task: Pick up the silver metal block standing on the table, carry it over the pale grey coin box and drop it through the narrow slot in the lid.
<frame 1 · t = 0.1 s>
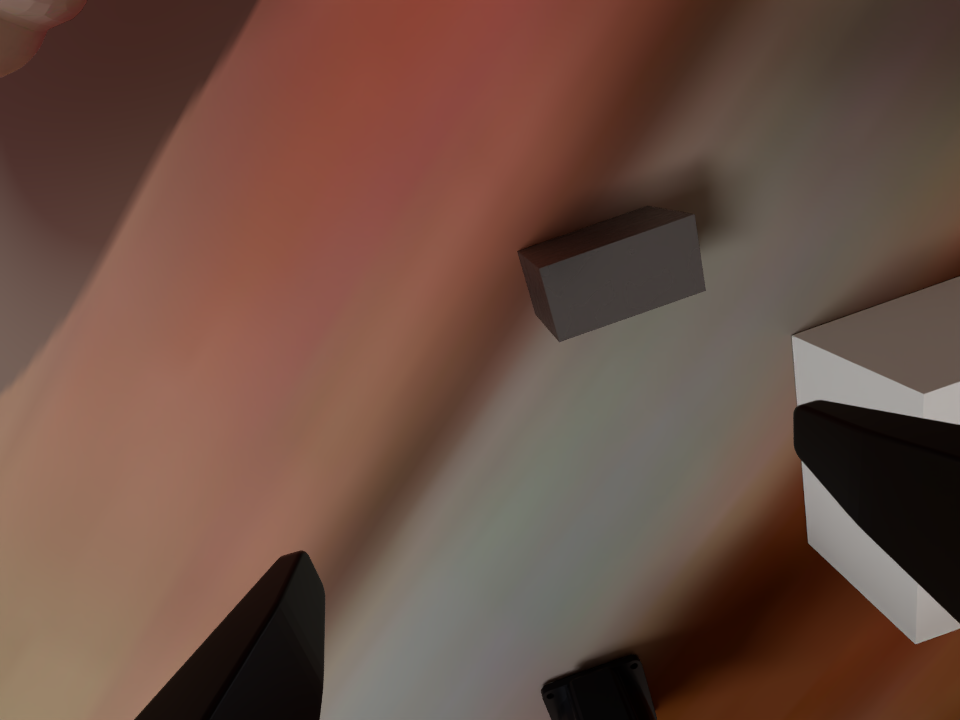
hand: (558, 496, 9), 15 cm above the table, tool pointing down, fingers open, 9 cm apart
silver metal block: (589, 260, 23), on the table
coin box: (919, 406, 28), on the table
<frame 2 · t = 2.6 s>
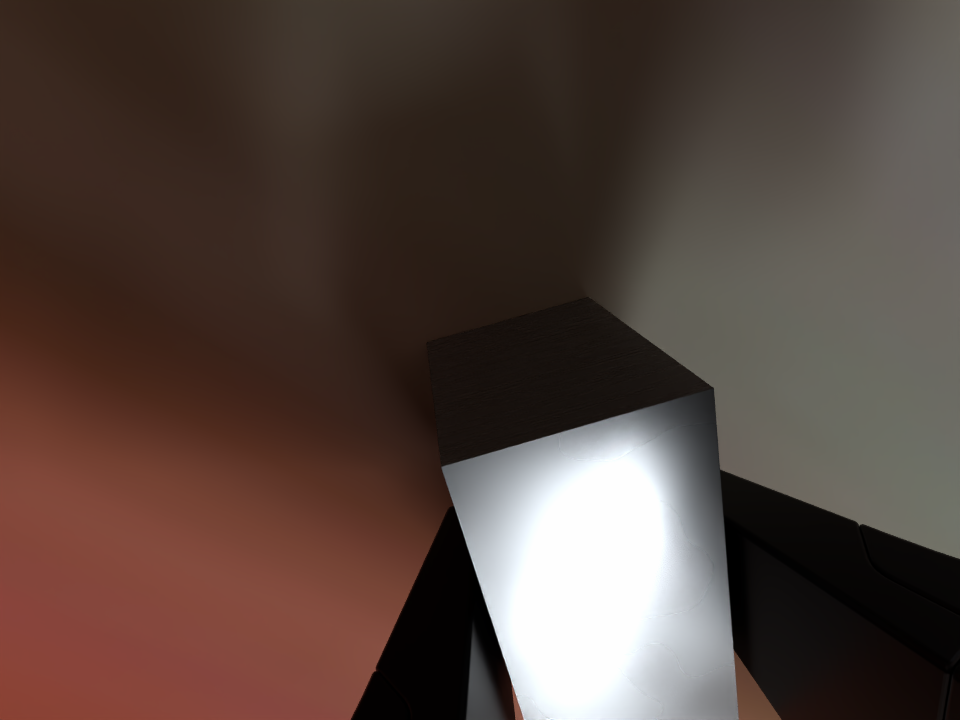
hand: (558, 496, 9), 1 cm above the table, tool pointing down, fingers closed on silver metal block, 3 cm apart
silver metal block: (540, 458, 10), on the table, touching gripper
when the fingers open (9 cm above the table, at t = 5.7 s): silver metal block drops 7 cm, resting on coin box.
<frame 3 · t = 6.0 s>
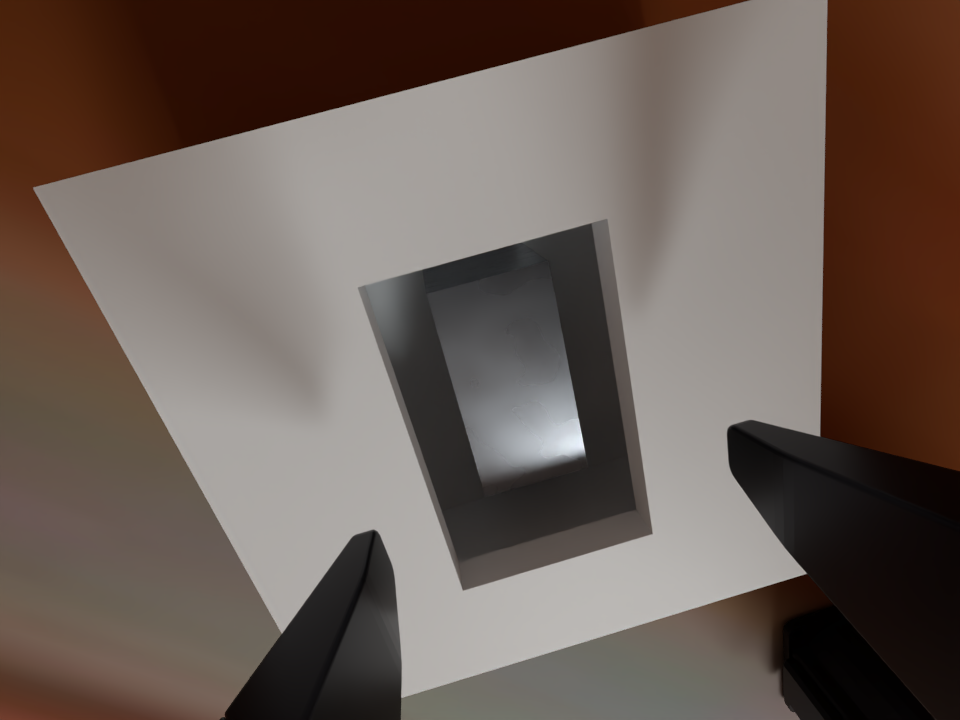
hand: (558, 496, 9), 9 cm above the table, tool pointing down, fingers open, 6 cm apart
silver metal block: (490, 339, 17), point 1 cm above the table, touching coin box
coin box: (482, 332, 18), on the table
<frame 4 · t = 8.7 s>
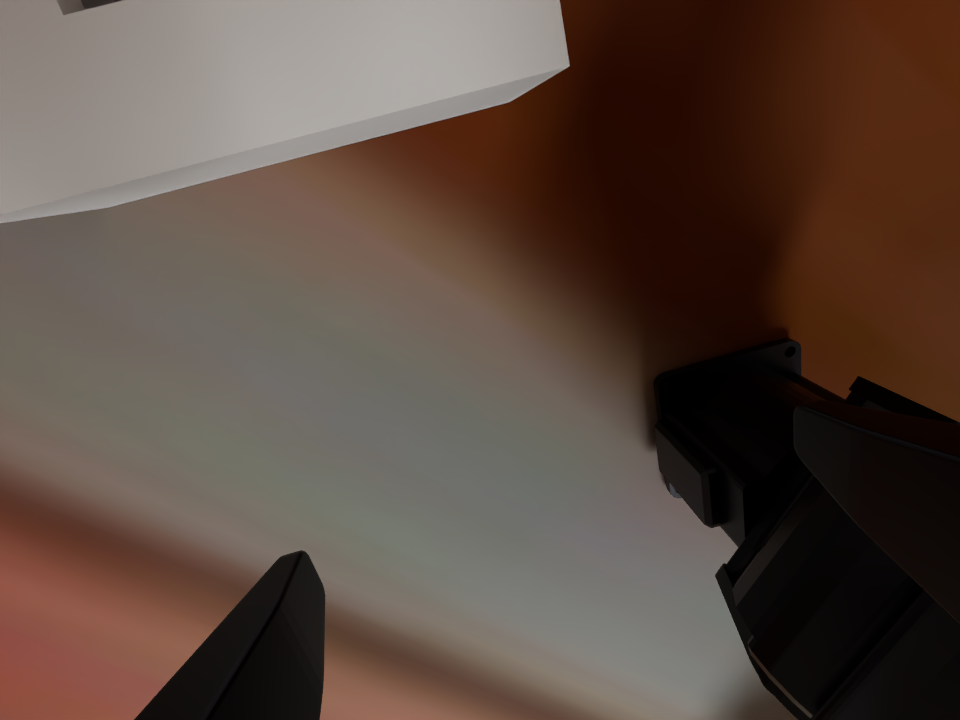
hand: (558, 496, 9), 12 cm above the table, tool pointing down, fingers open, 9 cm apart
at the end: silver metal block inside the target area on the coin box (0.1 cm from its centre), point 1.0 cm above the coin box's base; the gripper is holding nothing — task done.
